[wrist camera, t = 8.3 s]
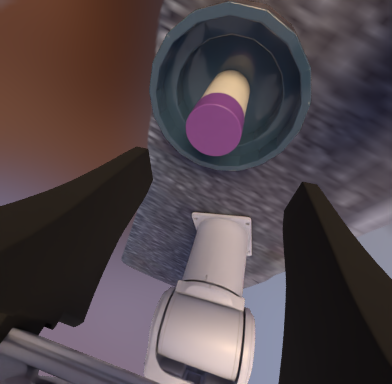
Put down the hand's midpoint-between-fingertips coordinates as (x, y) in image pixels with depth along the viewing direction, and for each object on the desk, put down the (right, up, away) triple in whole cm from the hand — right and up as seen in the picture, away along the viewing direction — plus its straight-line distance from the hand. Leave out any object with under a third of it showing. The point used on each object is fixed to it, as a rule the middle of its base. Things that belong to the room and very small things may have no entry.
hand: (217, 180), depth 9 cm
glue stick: (+1, +7, +5) cm, 9 cm away
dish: (+2, +7, +5) cm, 9 cm away
